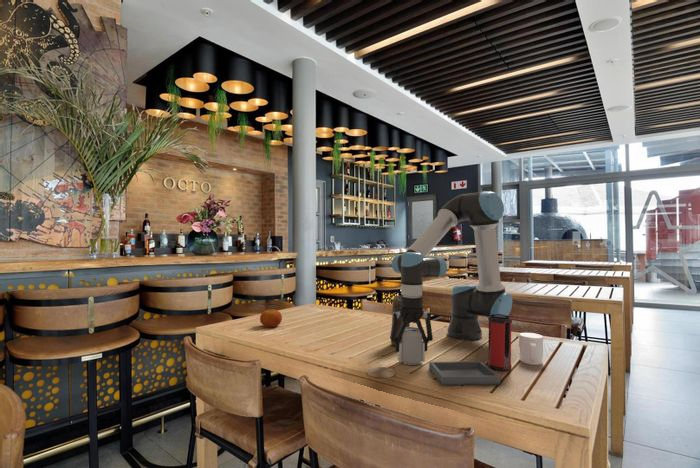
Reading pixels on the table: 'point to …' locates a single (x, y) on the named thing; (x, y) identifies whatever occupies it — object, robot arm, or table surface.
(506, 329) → the speaker
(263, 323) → the fruit
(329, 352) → the table surface
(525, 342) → the mug
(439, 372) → the tray
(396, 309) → the dark brown bottle
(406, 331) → the can
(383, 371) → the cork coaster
